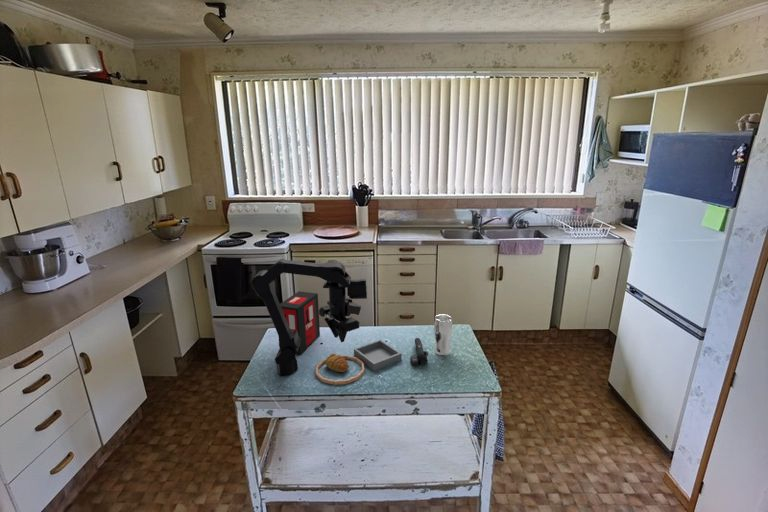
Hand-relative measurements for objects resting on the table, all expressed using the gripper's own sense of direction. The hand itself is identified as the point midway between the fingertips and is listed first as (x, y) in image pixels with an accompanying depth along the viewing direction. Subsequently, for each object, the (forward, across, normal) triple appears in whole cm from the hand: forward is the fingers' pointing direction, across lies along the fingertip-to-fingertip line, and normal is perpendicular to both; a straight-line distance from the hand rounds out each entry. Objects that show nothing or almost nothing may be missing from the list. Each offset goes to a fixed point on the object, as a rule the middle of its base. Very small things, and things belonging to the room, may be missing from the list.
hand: (339, 339), depth 139 cm
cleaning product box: (+13, +27, +3) cm, 30 cm away
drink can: (+13, -13, -39) cm, 43 cm away
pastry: (+13, 0, +2) cm, 14 cm away
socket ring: (+12, 0, 0) cm, 13 cm away
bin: (+12, -1, -16) cm, 20 cm away
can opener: (+13, -9, -30) cm, 34 cm away
